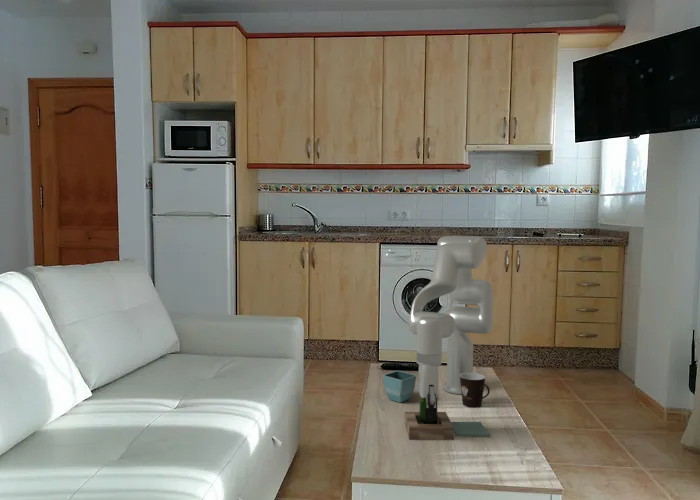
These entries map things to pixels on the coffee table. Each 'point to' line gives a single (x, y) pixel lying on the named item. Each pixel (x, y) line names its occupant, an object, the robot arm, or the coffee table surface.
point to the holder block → (429, 427)
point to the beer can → (422, 411)
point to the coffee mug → (472, 389)
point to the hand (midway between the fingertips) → (428, 415)
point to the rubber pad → (469, 429)
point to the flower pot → (399, 385)
